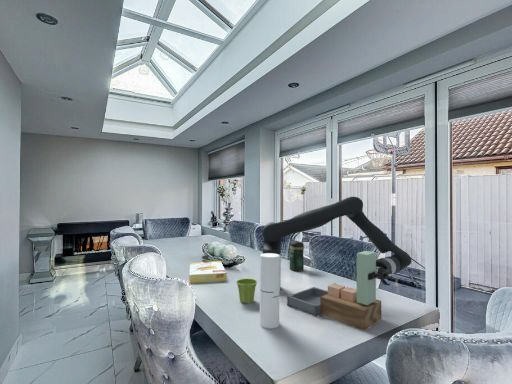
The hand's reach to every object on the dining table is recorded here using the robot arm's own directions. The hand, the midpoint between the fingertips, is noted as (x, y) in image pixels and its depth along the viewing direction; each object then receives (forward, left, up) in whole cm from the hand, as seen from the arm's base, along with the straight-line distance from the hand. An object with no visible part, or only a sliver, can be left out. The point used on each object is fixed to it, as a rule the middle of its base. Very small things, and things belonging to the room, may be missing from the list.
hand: (362, 275), depth 102 cm
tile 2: (-2, +7, -11) cm, 13 cm away
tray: (-13, +19, -18) cm, 29 cm away
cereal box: (-65, +67, -18) cm, 95 cm away
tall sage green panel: (+2, +2, -10) cm, 10 cm away
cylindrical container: (-34, +2, -18) cm, 39 cm away
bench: (-2, +7, -18) cm, 19 cm away
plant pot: (-42, +25, -18) cm, 52 cm away
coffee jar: (-9, +79, -18) cm, 81 cm away
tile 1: (-6, +11, -11) cm, 17 cm away
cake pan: (-61, +99, -18) cm, 118 cm away
